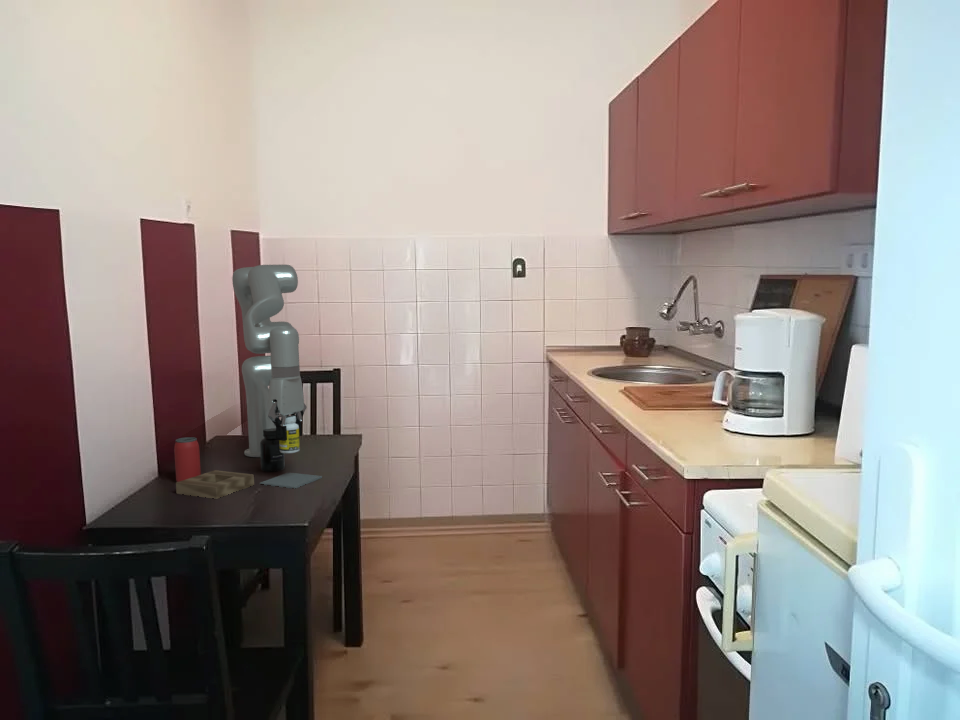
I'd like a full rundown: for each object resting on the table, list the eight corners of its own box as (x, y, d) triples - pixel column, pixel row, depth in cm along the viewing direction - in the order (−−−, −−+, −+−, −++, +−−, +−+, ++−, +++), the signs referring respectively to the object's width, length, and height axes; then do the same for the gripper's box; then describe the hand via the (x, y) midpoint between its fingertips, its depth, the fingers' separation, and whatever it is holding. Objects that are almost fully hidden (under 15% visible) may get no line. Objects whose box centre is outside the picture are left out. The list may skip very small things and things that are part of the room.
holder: (215, 480, 214) (214, 470, 214) (254, 485, 208) (253, 474, 208) (176, 493, 201) (175, 482, 201) (216, 499, 195) (215, 487, 195)
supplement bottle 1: (278, 472, 221) (276, 432, 220) (257, 472, 223) (254, 431, 221) (289, 466, 228) (287, 427, 227) (268, 466, 229) (265, 427, 228)
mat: (288, 474, 219) (288, 472, 219) (322, 477, 214) (322, 476, 214) (259, 484, 208) (259, 482, 208) (294, 488, 203) (294, 487, 203)
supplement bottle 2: (289, 454, 206) (287, 419, 206) (275, 452, 209) (273, 417, 208) (304, 450, 211) (302, 415, 210) (290, 448, 214) (288, 414, 213)
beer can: (206, 478, 216) (203, 437, 215) (190, 484, 210) (187, 442, 209) (187, 477, 218) (184, 436, 217) (171, 483, 212) (168, 441, 211)
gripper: (294, 369, 217) (298, 431, 219) (253, 376, 202) (257, 443, 204) (316, 369, 214) (319, 433, 216) (275, 377, 199) (279, 445, 201)
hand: (289, 437), depth 210 cm, fingers closed on supplement bottle 2, 5 cm apart
